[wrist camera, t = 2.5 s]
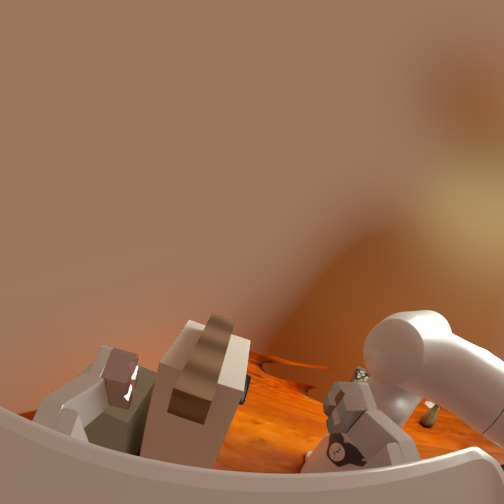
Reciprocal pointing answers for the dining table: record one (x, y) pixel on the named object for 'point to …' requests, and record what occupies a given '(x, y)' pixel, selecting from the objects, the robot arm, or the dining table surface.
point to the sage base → (124, 418)
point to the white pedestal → (185, 431)
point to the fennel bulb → (430, 416)
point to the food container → (360, 375)
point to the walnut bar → (201, 372)
